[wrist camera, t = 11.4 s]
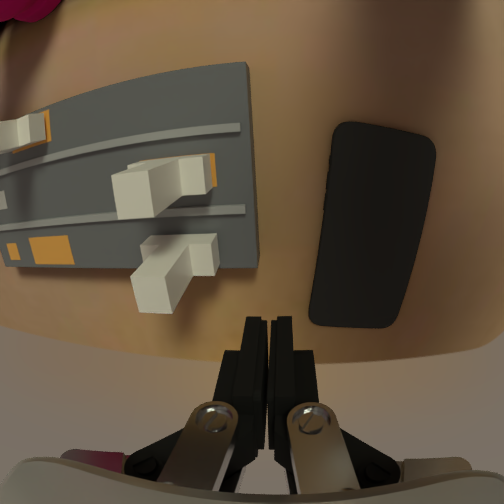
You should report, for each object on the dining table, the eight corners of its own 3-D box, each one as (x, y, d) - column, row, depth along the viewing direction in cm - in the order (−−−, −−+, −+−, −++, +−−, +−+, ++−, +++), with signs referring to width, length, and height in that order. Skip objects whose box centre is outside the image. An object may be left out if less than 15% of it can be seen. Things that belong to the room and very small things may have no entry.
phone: (305, 325, 23) (334, 118, 17) (305, 319, 24) (331, 118, 18) (393, 329, 23) (439, 139, 17) (390, 323, 23) (433, 138, 17)
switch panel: (249, 67, 17) (244, 60, 15) (259, 255, 22) (256, 269, 19) (-6, 134, 19) (-23, 137, 17) (18, 258, 24) (3, 267, 22)
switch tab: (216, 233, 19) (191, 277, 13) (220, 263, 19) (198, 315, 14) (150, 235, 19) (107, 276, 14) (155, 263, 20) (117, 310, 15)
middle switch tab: (209, 153, 17) (177, 167, 12) (212, 187, 18) (183, 215, 12) (139, 161, 17) (87, 178, 12) (143, 192, 18) (95, 221, 13)
